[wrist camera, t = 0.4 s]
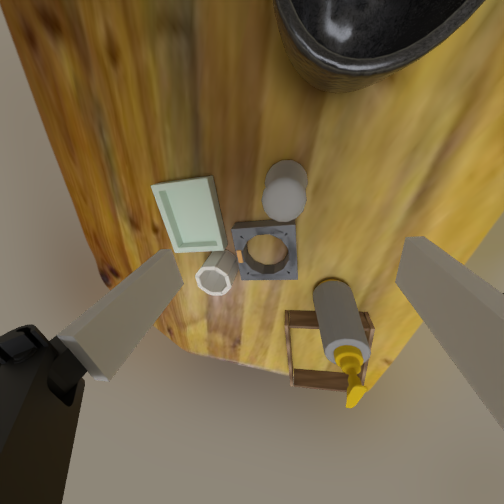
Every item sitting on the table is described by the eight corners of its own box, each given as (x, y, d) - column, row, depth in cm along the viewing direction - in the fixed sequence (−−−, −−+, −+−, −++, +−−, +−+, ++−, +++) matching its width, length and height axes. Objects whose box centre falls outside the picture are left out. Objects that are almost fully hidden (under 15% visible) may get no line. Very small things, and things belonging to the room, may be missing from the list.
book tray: (285, 310, 42) (284, 325, 39) (367, 312, 39) (374, 328, 35) (290, 369, 52) (290, 386, 48) (356, 375, 48) (361, 393, 45)
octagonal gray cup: (205, 250, 38) (191, 267, 33) (235, 248, 37) (226, 266, 32) (212, 275, 41) (201, 295, 36) (240, 275, 40) (233, 295, 35)
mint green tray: (159, 182, 33) (150, 185, 31) (212, 175, 31) (206, 177, 29) (181, 246, 39) (175, 252, 37) (227, 244, 37) (223, 250, 35)
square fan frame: (235, 222, 34) (230, 229, 32) (295, 217, 32) (295, 225, 29) (244, 271, 39) (241, 280, 36) (297, 269, 37) (297, 280, 34)
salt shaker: (276, 205, 32) (267, 240, 21) (260, 170, 30) (241, 188, 19) (312, 189, 30) (324, 218, 18) (298, 150, 28) (302, 157, 16)
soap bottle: (308, 301, 40) (319, 403, 24) (316, 273, 36) (334, 370, 21) (344, 307, 39) (378, 416, 24) (355, 279, 36) (404, 384, 20)
